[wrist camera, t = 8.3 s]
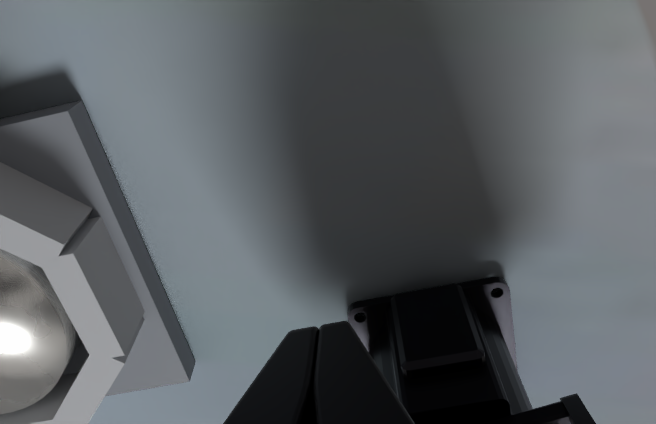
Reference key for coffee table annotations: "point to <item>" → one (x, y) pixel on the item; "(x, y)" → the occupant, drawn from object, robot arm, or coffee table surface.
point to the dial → (30, 334)
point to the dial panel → (85, 264)
